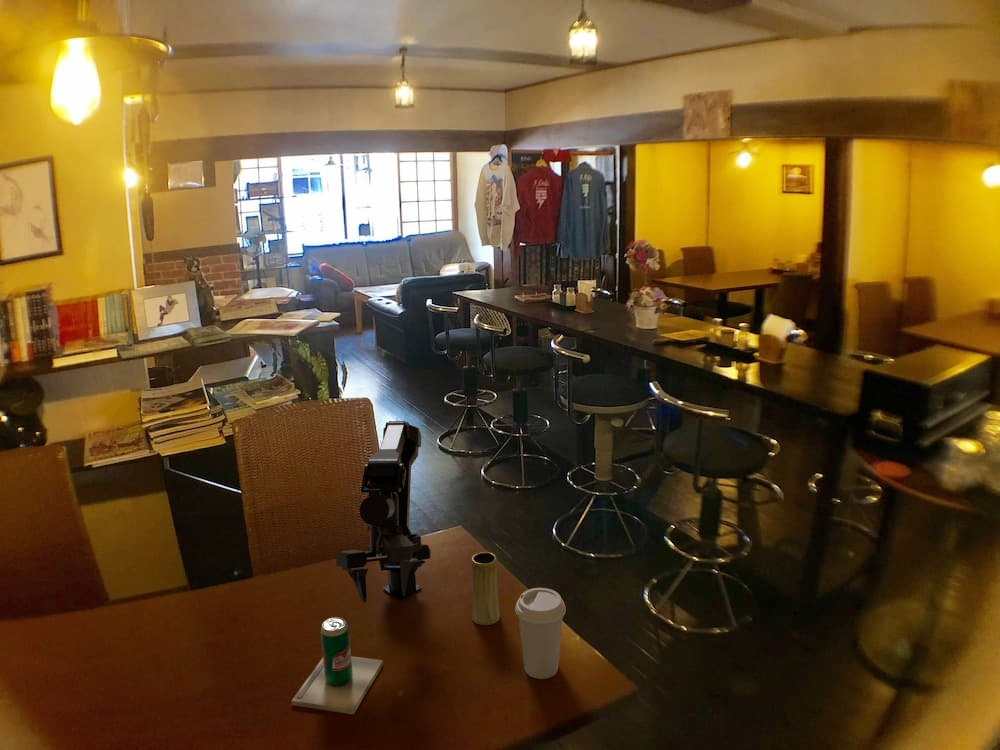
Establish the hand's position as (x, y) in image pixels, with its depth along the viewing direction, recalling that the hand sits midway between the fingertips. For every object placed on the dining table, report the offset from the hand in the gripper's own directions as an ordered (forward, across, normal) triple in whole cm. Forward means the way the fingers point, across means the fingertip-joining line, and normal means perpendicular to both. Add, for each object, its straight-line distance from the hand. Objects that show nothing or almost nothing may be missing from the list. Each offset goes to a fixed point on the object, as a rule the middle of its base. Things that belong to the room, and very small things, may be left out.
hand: (384, 599), depth 148 cm
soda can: (+13, -11, -2) cm, 17 cm away
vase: (+7, +23, -3) cm, 24 cm away
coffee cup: (+13, +22, -22) cm, 34 cm away
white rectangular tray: (+14, -11, -2) cm, 18 cm away
